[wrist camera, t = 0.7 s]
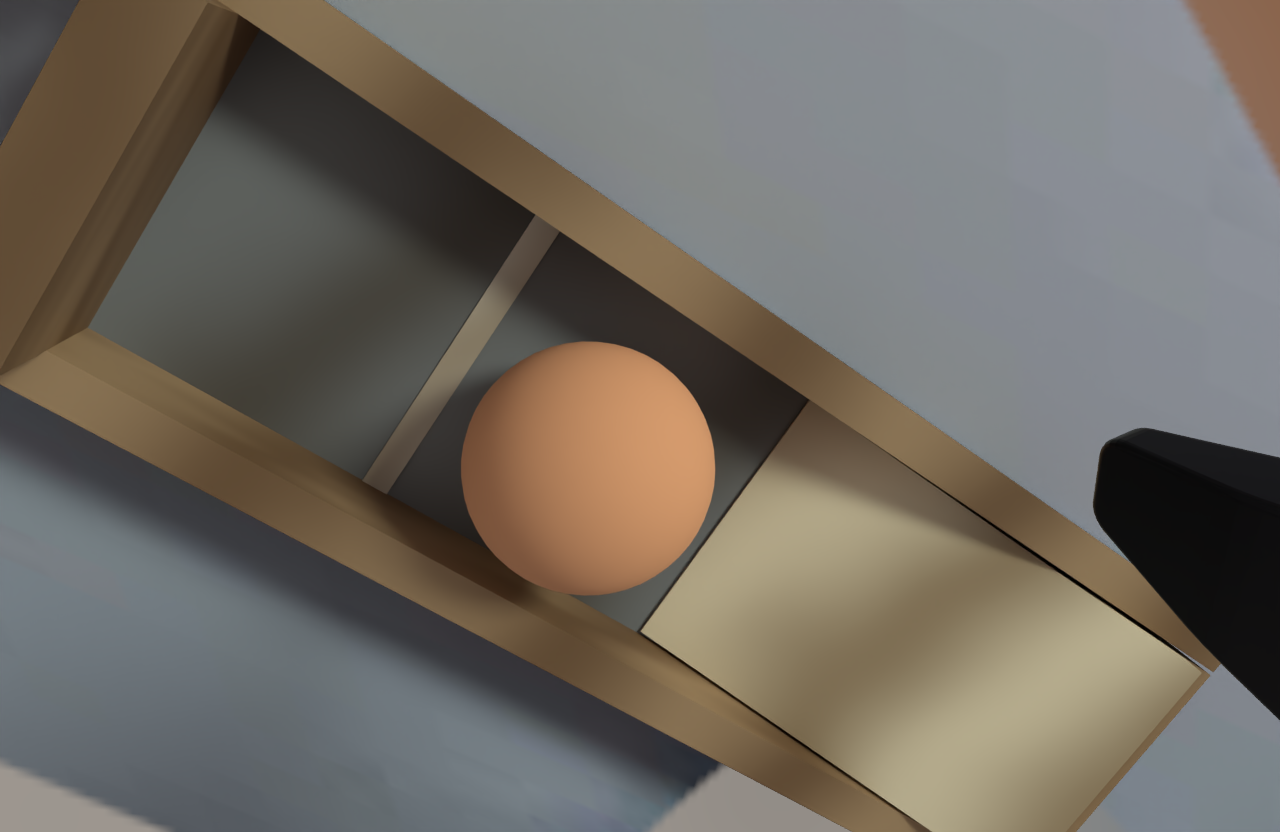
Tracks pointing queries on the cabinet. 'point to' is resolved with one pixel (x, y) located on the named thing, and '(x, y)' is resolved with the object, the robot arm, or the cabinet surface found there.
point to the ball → (588, 468)
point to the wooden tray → (492, 344)
